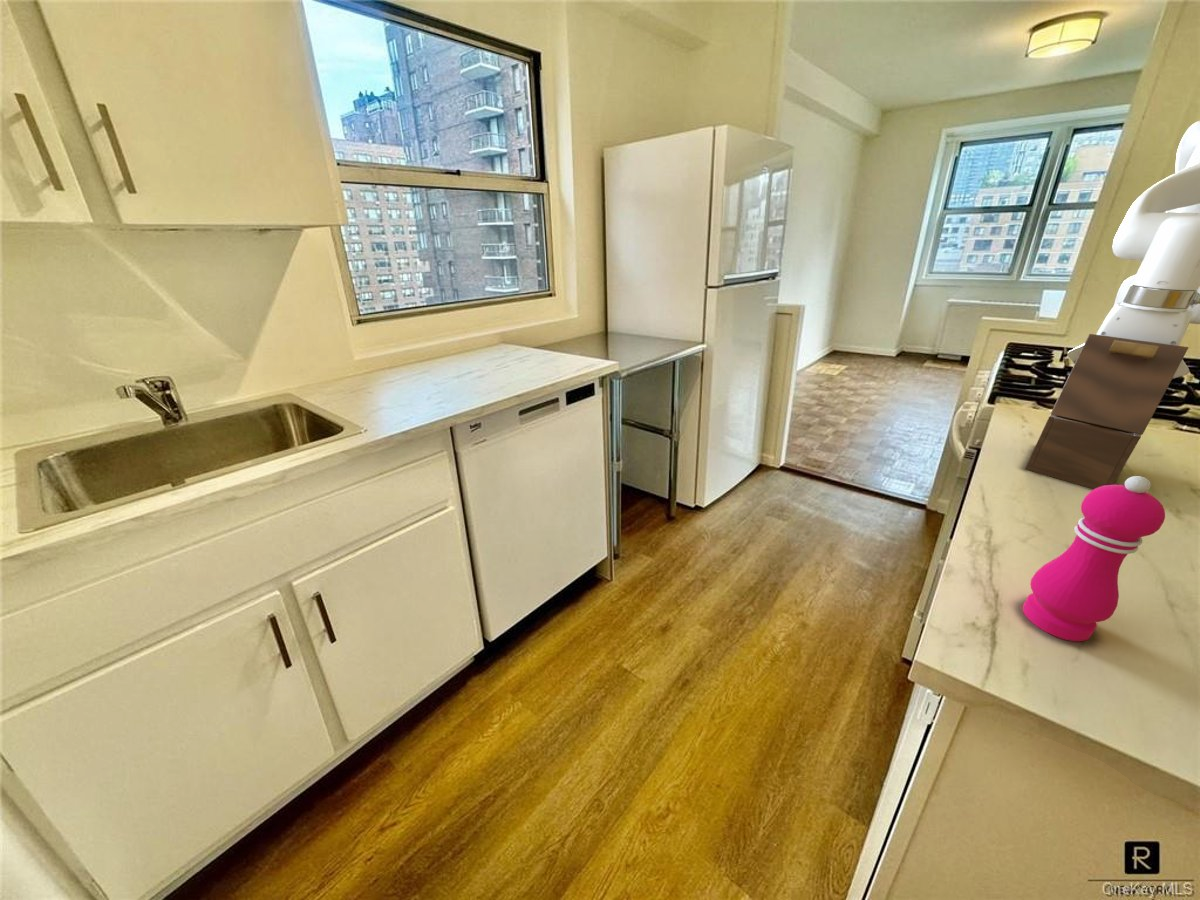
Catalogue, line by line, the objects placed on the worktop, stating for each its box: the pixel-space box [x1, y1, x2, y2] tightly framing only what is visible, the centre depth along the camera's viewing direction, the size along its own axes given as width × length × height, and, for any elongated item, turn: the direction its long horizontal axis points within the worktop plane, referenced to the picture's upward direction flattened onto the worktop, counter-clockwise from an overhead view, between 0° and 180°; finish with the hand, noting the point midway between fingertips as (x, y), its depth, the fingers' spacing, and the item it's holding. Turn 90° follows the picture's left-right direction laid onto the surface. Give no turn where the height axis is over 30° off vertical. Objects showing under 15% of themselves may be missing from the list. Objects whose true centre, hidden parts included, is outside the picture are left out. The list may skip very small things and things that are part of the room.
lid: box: [1050, 333, 1190, 436], centre depth 79 cm, size 14×12×6 cm
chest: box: [1024, 414, 1142, 490], centre depth 89 cm, size 14×12×11 cm
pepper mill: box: [1022, 475, 1166, 642], centre depth 53 cm, size 7×7×20 cm
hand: (1104, 401), depth 87 cm, fingers closed on lemon, 5 cm apart
